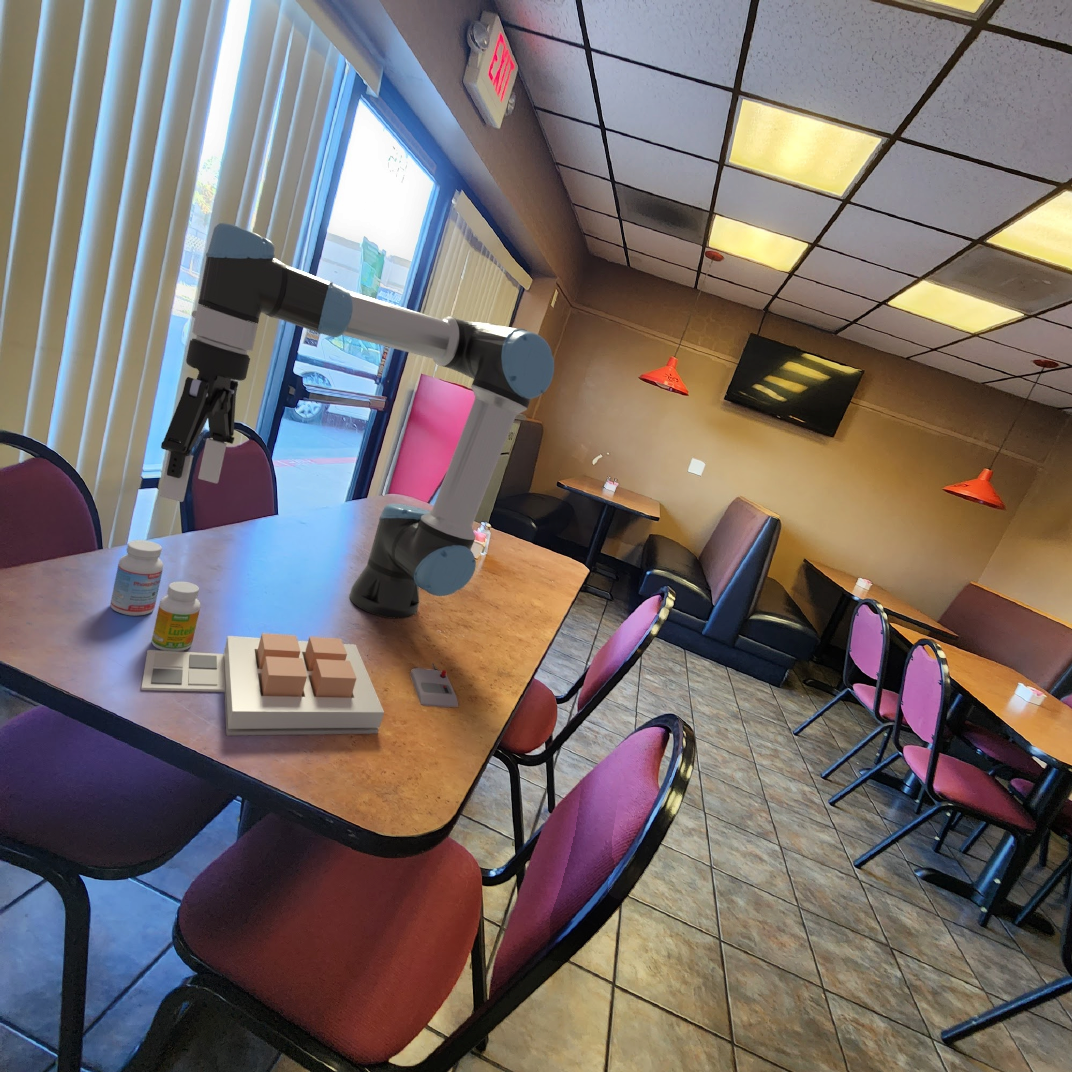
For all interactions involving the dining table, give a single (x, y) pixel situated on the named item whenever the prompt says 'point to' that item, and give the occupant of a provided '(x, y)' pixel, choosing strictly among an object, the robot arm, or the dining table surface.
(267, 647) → the button
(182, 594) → the supplement bottle
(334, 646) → the button
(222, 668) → the card
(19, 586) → the dining table surface
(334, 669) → the button
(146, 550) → the pill bottle
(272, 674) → the button
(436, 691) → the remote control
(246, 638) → the board
